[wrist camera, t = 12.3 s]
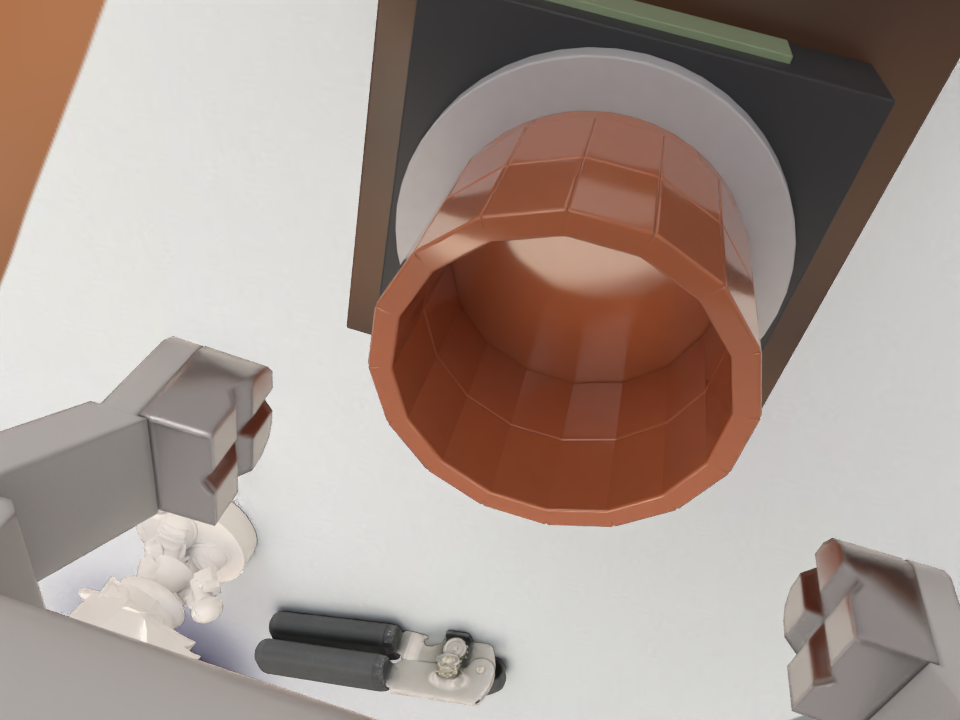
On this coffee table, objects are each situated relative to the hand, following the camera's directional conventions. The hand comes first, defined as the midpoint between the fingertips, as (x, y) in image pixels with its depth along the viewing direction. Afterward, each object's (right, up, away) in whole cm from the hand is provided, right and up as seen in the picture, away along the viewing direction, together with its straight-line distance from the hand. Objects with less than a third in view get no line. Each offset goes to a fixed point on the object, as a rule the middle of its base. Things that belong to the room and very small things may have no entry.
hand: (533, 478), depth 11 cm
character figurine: (-22, -11, +47) cm, 53 cm away
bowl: (+1, +4, +5) cm, 7 cm away
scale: (+2, +6, +8) cm, 10 cm away
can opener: (-8, -20, +50) cm, 55 cm away
